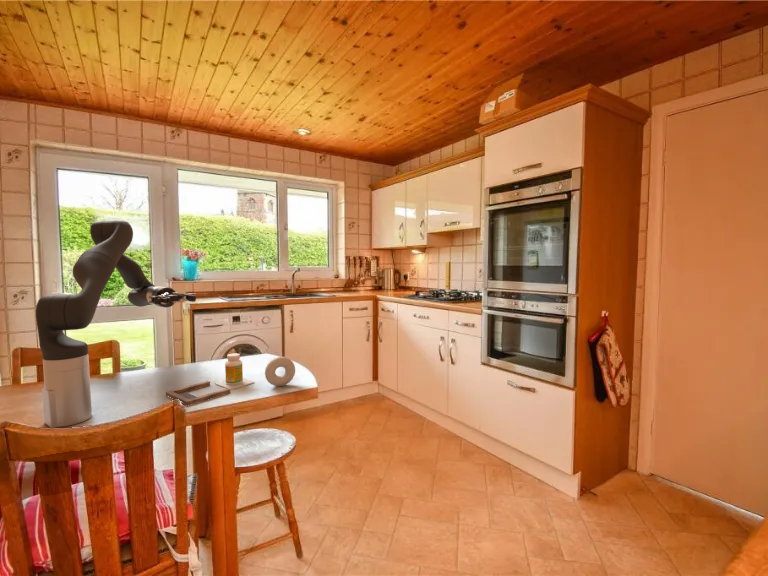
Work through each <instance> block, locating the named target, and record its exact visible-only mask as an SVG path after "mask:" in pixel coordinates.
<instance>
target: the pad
mask: <svg viewBox="0 0 768 576" xmlns="http://www.w3.org/2000/svg"><path fill="white" fill-rule="evenodd" d="M249 384H250V385H252V384H255V381H253V380H251V379H250V380H249V379H246V378H244V377H243V382H242V383H240V384H237V385H228V384H226V380H223V381H220V382H216V383H215V385H216V386H218V387H221V388H223V389H227V388H228V389H230V391H231V390H232V389H233V390H237V389H239V387H240V388H242V387H243V388H244V387H246V386H249ZM233 390H232V391H233Z"/></svg>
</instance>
